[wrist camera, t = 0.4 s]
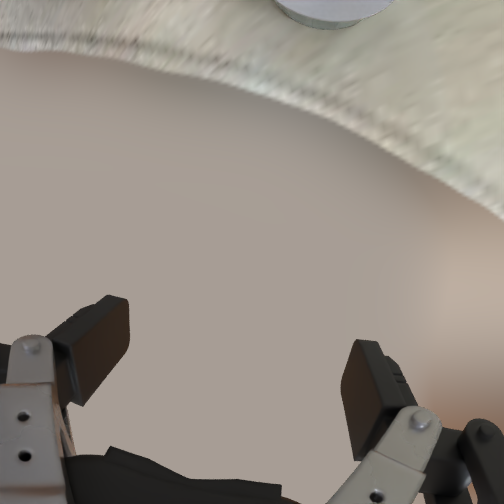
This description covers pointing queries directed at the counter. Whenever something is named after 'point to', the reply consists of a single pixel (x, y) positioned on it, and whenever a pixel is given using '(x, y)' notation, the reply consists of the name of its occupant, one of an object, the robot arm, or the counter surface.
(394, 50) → the counter surface
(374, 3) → the lid
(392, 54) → the counter surface
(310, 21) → the canister
